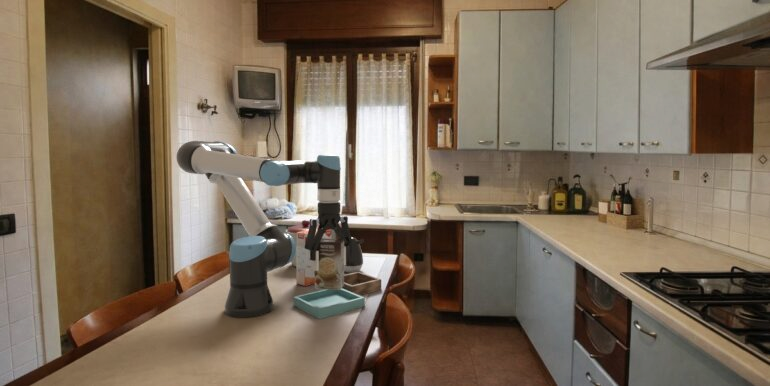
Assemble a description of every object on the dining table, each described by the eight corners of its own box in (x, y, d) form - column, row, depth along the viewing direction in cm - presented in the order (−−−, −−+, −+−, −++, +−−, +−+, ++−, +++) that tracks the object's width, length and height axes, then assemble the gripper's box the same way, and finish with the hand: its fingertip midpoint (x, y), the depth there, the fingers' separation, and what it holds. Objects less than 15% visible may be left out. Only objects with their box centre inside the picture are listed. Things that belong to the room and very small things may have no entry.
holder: (351, 297, 154) (351, 286, 154) (329, 288, 165) (329, 278, 164) (381, 289, 163) (381, 279, 163) (358, 281, 174) (358, 271, 173)
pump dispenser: (360, 275, 183) (360, 240, 182) (336, 273, 185) (336, 238, 184) (366, 269, 193) (366, 235, 192) (343, 267, 195) (343, 234, 194)
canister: (282, 262, 203) (281, 218, 201) (319, 258, 211) (319, 216, 209) (290, 272, 187) (290, 224, 185) (330, 267, 194) (330, 221, 193)
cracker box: (305, 287, 166) (305, 233, 164) (295, 284, 170) (295, 231, 168) (332, 279, 177) (332, 229, 175) (322, 276, 180) (321, 227, 179)
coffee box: (313, 289, 142) (313, 241, 141) (318, 283, 148) (318, 237, 147) (341, 290, 141) (340, 242, 140) (344, 284, 147) (344, 238, 146)
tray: (319, 319, 134) (319, 309, 133) (293, 305, 145) (293, 296, 145) (364, 306, 145) (364, 297, 145) (337, 294, 157) (337, 286, 157)
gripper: (304, 205, 132) (305, 275, 134) (363, 200, 147) (362, 263, 149) (292, 202, 138) (293, 270, 140) (349, 198, 153) (349, 259, 154)
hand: (329, 267), depth 144 cm, fingers closed on coffee box, 10 cm apart
